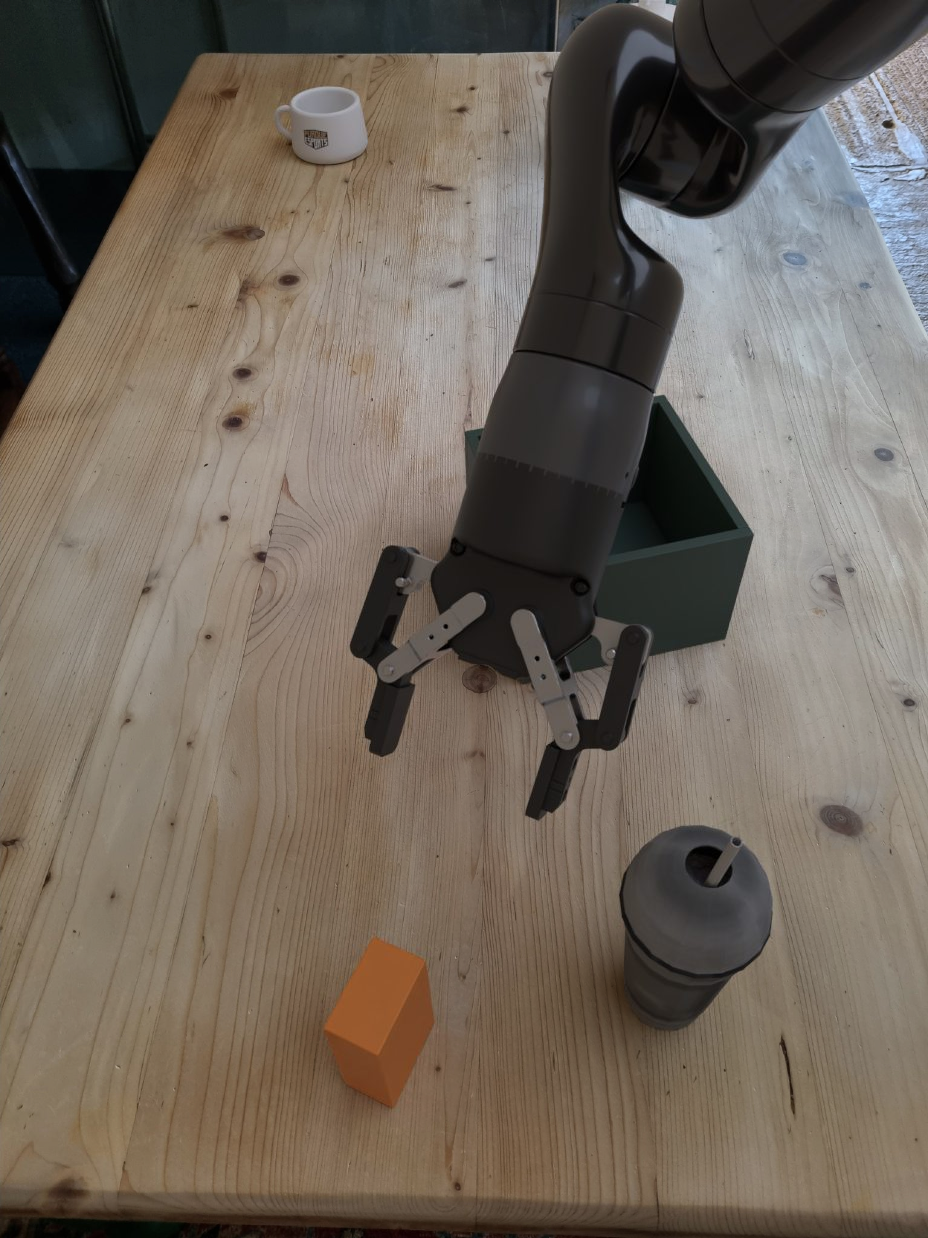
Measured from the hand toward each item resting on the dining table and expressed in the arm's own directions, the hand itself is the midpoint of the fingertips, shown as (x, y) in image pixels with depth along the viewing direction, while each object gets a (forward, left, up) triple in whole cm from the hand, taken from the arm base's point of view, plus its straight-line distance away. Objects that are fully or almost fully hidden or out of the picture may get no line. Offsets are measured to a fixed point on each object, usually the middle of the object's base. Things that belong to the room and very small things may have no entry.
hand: (457, 783), depth 49 cm
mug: (+104, -8, -14) cm, 105 cm away
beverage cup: (-8, -10, -14) cm, 19 cm away
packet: (-7, +6, -14) cm, 17 cm away
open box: (+23, -16, -14) cm, 31 cm away
